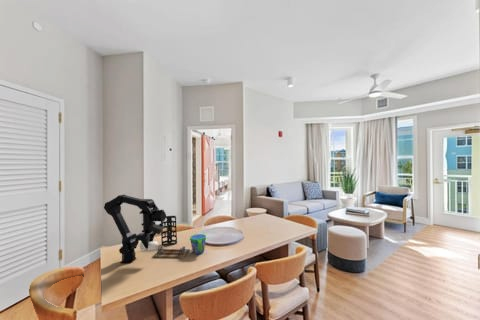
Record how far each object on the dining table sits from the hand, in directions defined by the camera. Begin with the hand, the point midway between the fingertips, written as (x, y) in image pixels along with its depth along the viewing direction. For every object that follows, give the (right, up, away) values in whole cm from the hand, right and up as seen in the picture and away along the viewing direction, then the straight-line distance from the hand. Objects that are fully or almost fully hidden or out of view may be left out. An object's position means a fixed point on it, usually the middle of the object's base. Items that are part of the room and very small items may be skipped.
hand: (148, 247), depth 128 cm
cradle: (+10, -9, +11) cm, 18 cm away
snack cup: (+27, -9, +14) cm, 31 cm away
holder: (+2, -10, +30) cm, 31 cm away
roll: (0, -1, 0) cm, 1 cm away
